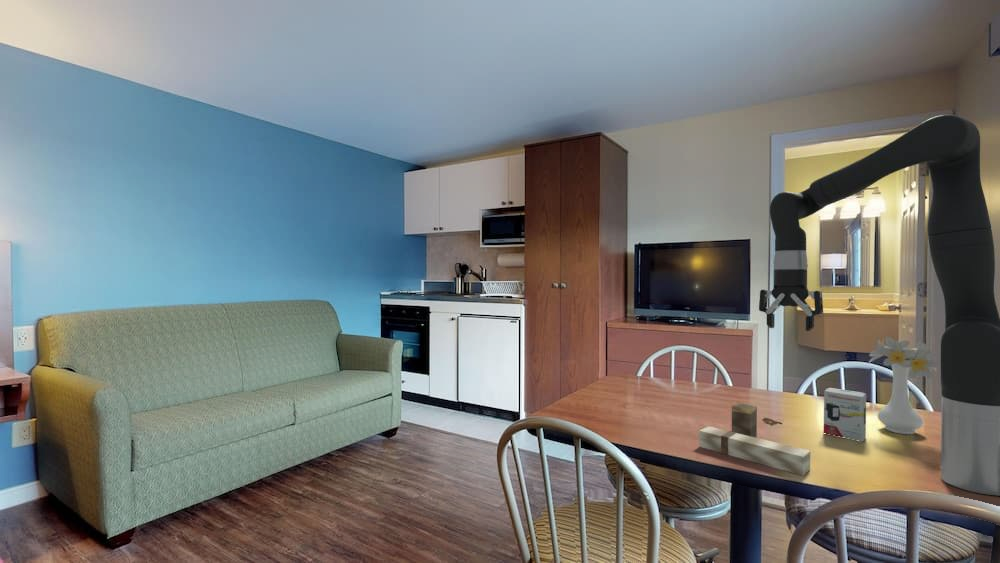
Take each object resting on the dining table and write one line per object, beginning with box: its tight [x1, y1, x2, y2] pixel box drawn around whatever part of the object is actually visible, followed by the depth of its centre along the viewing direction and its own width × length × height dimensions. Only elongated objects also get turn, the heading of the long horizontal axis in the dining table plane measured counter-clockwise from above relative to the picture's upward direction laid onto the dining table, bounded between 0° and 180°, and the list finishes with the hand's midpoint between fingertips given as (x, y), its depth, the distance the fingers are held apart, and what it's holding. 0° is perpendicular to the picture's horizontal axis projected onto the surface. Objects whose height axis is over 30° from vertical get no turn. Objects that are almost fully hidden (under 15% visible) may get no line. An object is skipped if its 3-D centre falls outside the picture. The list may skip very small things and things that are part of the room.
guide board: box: [698, 425, 811, 477], centre depth 105 cm, size 22×5×4 cm, turn 42°
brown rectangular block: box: [731, 402, 758, 438], centre depth 115 cm, size 4×4×9 cm
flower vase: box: [868, 336, 941, 435], centre depth 123 cm, size 13×18×25 cm
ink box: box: [822, 387, 867, 442], centre depth 119 cm, size 9×5×12 cm, turn 44°
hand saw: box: [761, 417, 783, 427], centre depth 140 cm, size 24×5×1 cm, turn 16°
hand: (789, 329), depth 120 cm, fingers open, 8 cm apart
